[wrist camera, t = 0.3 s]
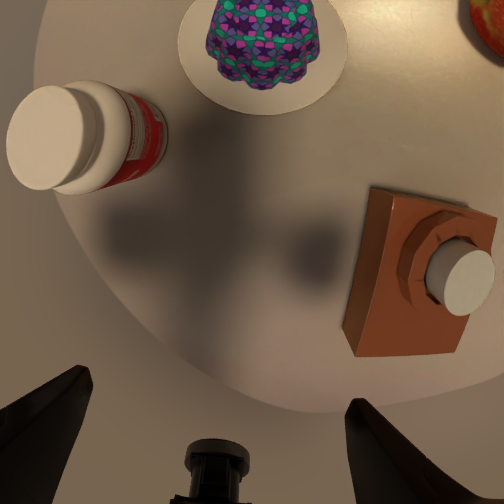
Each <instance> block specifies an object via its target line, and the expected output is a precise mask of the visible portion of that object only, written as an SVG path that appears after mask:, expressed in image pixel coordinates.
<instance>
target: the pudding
mask: <svg viewBox="0 0 504 504" xmlns="http://www.w3.org/2000/svg"><path fill="white" fill-rule="evenodd" d="M347 48H348V44H347V36H346V31H345V28H344V25H343V22H342V20H341V18H340V17H339V15H338V13H337V11H336V10H335V9H334V7H333V6H332V5H331V4H330V2H329V1H328V0H195V1H194V2H193V4H192V5H191V6H190V8H189V9H188V11H187V12H186V14H185V16H184V18H183V20H182V23H181V25H180V29H179V34H178V53H179V58H180V62H181V65H182V67H183V69H184V71H185V73H186V75H187V77H188V78H189V79H190V81H191V82H192V83H193V85H194V86H195V87H196V88H197V89H198V90H199V91H200V92H201V93H202V94H203V95H205V96H206V97H208V98H209V99H211V100H212V101H214V102H215V103H217V104H219V105H221V106H224V107H226V108H228V109H230V110H234V111H238V112H241V113H245V114H254V115H278V114H283V113H288V112H292V111H295V110H298V109H301V108H304V107H306V106H308V105H310V104H311V103H313V102H315V101H317V100H318V99H320V98H321V97H322V96H323V95H324V94H326V93H327V92H328V91H329V90H330V89H331V88H332V86H333V85H334V84H335V83H336V82H337V80H338V78H339V76H340V75H341V73H342V71H343V69H344V65H345V62H346V58H347Z"/></svg>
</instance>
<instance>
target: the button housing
mask: <svg viewBox="0 0 504 504" xmlns="http://www.w3.org/2000/svg"><path fill="white" fill-rule="evenodd" d="M496 224H497V218H496V217H494V216H491V215H488V214H486V213H483V212H480V211H478V210H475V209H472V208H470V207H466V206H462V205H457V204H453V203H449V202H444V201H440V200H435V199H430V198H425V197H420V196H415V195H410V194H405V193H400V192H395V191H389V190H383V189H378V188H371V190H370V197H369V203H368V209H367V215H366V221H365V227H364V232H363V238H362V243H361V248H360V253H359V258H358V263H357V268H356V272H355V277H354V281H353V286H352V290H351V294H350V299H349V303H348V307H347V311H346V315H345V319H344V323H343V327H342V329H343V331H344V334H345V336H346V338H347V340H348V343H349V345H350V347H351V349H352V351H353V354H354V356H355V357H385V356H411V355H428V354H442V353H454V352H455V350H456V348H457V346H458V343H459V341H460V339H461V336H462V334H463V331H464V329H465V326H466V324H467V321H468V319H469V316H470V314H468V315H464V316H457V315H454V314H452V313H450V312H449V311H448V310H447V309H446V308H445V307H444V306H443V305H442V304H441V303H440V302H439V301H438V300H437V299H436V298H435V297H433V296H432V295H431V293H430V292H429V291H428V288H427V285H426V269H427V265H428V262H429V260H430V258H431V256H432V254H433V253H434V252H435V250H436V249H437V248H438V247H439V246H440V245H441V244H443V243H444V242H446V241H448V240H450V239H455V238H459V239H463V240H465V241H467V242H469V243H471V244H472V245H474V246H476V247H478V248H480V249H482V250H483V251H485V252H487V253H488V254H489V255H490V256H491V245H492V241H493V237H494V233H495V228H496Z"/></svg>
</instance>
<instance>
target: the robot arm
mask: <svg viewBox="0 0 504 504" xmlns="http://www.w3.org/2000/svg"><path fill="white" fill-rule="evenodd" d="M92 390H93V382H92V378H91V375H90V371H89V369H88V367H85V366H82V365H76V366H74V367H72V368H71V369H69V370H67V371H66V372H64V373H62V374H61V375H59V376H57V377H55V378H54V379H52V380H50V381H49V382H47V383H45V384H43V385H42V386H40V387H38V388H37V389H35V390H33V391H32V392H30V393H28V394H26V395H25V396H23V397H21V398H20V399H18V400H16V401H15V402H13V403H11V404H10V405H8V406H6V407H4V408H3V409H1V410H0V504H52V502H53V499H54V496H55V493H56V490H57V487H58V485H59V482H60V479H61V476H62V474H63V471H64V468H65V466H66V463H67V461H68V458H69V455H70V453H71V450H72V448H73V445H74V443H75V440H76V438H77V436H78V433H79V431H80V428H81V426H82V423H83V420H84V417H85V413H86V410H87V406H88V403H89V400H90V396H91V393H92ZM345 430H346V443H347V454H348V461H349V466H350V471H351V476H352V482H353V487H354V493H355V498H356V503H357V504H504V499H488V498H483V497H479V496H477V495H475V494H474V493H472V492H471V491H469V490H468V489H466V488H465V487H463V486H462V485H461V484H459V483H458V482H456V481H455V480H454V479H452V478H451V477H450V476H448V475H447V474H445V473H444V472H443V471H442V470H441V469H440V468H438V467H437V466H436V465H435V464H434V463H432V462H431V460H429V459H428V458H426V456H425V455H424V454H423V453H422V452H421V451H419V449H417V448H416V447H415V446H414V445H413V444H412V443H411V442H410V441H409V440H408V439H407V438H406V437H405V436H404V435H403V434H401V433H400V432H399V431H398V430H397V429H396V428H395V427H394V426H393V425H392V424H391V423H390V422H389V421H388V420H387V419H386V418H385V417H384V416H383V415H381V414H380V413H379V412H378V411H377V410H376V409H375V408H374V407H373V406H372V405H371V404H370V403H369V402H368V401H367V400H366V399H364V398H354V399H353V400H352V401H351V403H350V405H349V407H348V409H347V411H346V414H345ZM189 458H190V469H191V477H192V480H191V486H190V492H189V497H184V496H180V495H175V497H174V499H170V504H252V503H239V483H240V482H241V480H242V475H243V469H244V463H245V458H243V457H237V456H224V455H214V454H205V453H197V452H191V453H190V455H189Z"/></svg>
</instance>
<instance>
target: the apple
mask: <svg viewBox="0 0 504 504" xmlns="http://www.w3.org/2000/svg"><path fill="white" fill-rule="evenodd" d="M470 14H471V18H472V21H473V24H474V26H475V28H476V30H477V32H478V33H479V35H480V36H481V37H482V39H483V40H484V41H485V42H486V43H487V44H488V46H489V47H490V48H491V49H492V50H494V51H495V52H496V53H497V54H499V55H500V56H502V57H503V58H504V0H470Z"/></svg>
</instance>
